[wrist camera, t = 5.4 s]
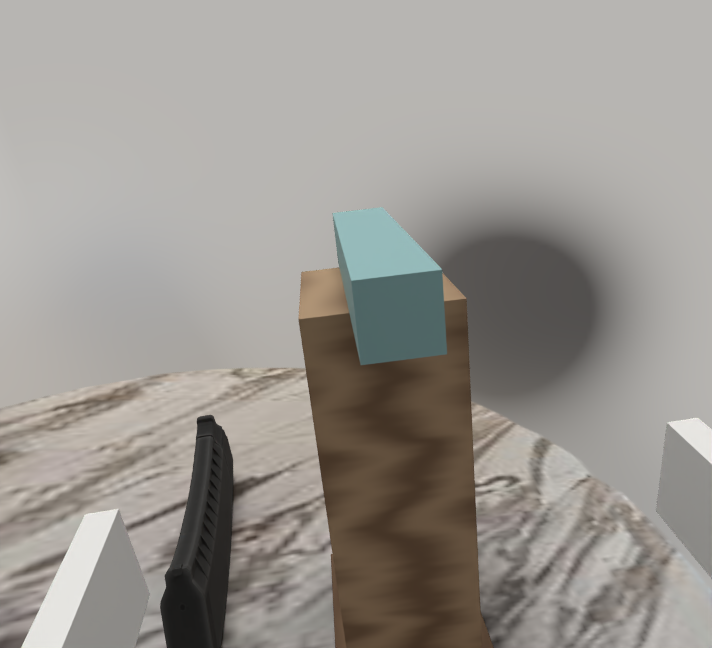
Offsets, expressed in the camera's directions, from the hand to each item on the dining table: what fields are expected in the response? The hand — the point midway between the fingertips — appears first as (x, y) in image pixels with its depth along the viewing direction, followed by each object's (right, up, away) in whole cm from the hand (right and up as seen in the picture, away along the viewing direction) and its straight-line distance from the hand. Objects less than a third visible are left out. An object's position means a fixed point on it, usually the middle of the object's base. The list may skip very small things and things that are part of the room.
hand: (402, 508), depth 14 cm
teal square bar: (0, +6, +23) cm, 24 cm away
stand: (+3, -21, +35) cm, 41 cm away
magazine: (-15, -20, +45) cm, 51 cm away
